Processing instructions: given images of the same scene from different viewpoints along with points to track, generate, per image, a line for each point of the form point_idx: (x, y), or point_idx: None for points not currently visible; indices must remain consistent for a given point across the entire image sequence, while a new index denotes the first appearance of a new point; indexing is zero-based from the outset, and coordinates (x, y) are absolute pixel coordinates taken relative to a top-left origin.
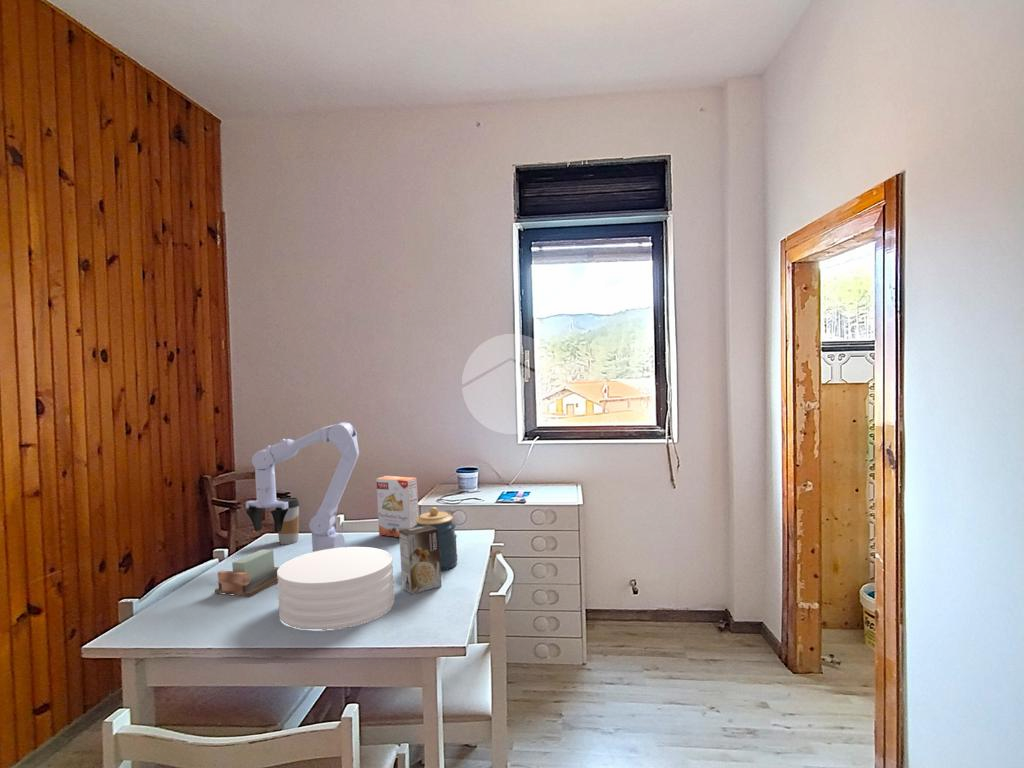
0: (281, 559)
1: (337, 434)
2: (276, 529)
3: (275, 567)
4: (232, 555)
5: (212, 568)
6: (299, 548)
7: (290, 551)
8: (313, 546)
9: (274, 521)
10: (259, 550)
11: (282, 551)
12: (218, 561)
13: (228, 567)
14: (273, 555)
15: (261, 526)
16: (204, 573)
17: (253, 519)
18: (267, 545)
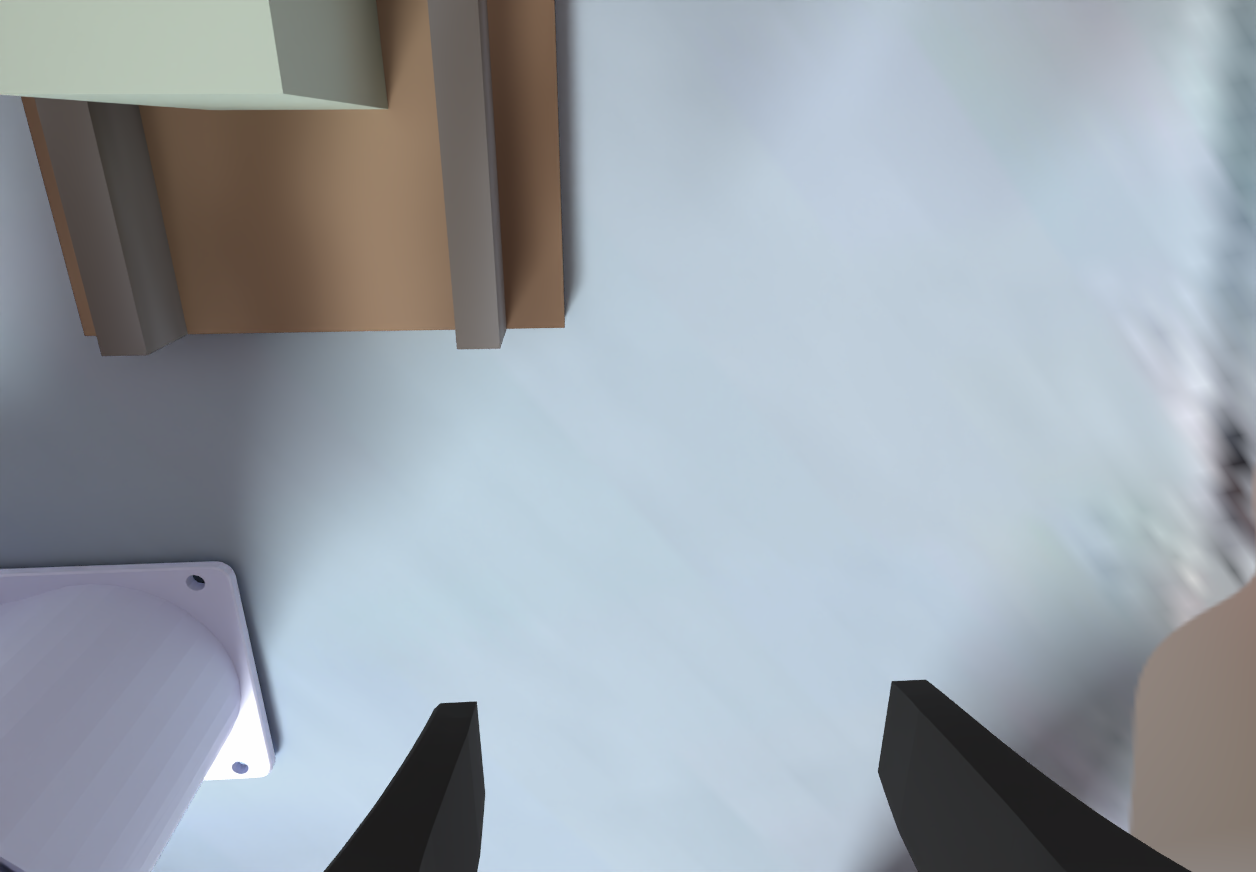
0: (615, 610)
1: None
2: (423, 733)
3: (391, 315)
4: (1197, 597)
5: (1197, 222)
6: (664, 866)
7: (691, 794)
8: (52, 710)
9: (402, 866)
10: (271, 14)
11: (768, 779)
12: (1249, 426)
13: (1028, 290)
14: (65, 98)
15: (898, 821)
16: (1200, 45)
17: (1063, 846)
18: None
